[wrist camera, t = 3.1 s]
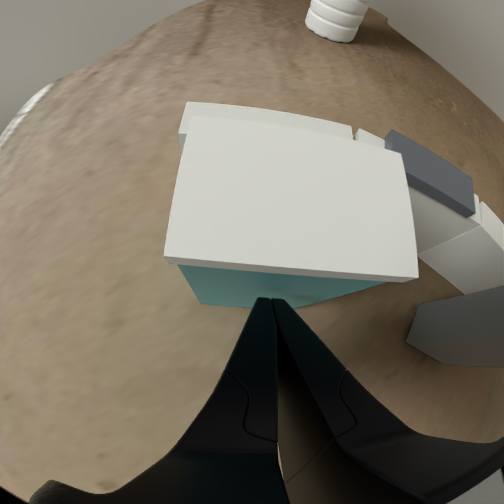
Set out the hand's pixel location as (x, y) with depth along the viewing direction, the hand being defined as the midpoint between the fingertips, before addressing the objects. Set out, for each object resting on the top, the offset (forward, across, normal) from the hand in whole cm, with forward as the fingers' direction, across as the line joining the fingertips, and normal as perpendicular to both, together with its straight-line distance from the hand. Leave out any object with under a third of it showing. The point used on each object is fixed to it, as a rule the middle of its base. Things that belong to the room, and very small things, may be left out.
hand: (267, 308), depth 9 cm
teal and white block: (+7, 0, +4) cm, 8 cm away
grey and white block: (+4, -14, +6) cm, 16 cm away
